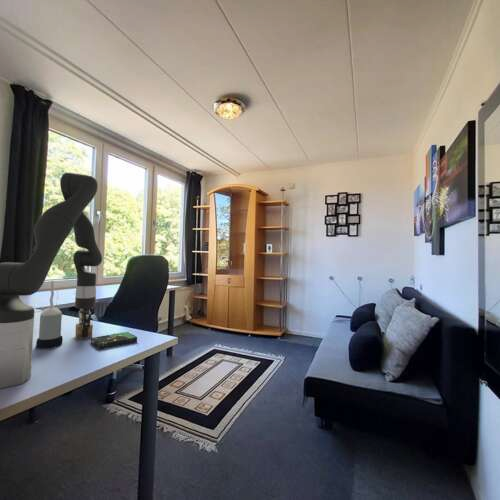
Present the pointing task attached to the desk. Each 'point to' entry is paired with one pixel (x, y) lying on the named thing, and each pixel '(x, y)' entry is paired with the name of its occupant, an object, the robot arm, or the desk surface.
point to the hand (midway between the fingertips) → (83, 335)
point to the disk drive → (113, 340)
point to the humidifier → (50, 326)
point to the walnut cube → (79, 331)
